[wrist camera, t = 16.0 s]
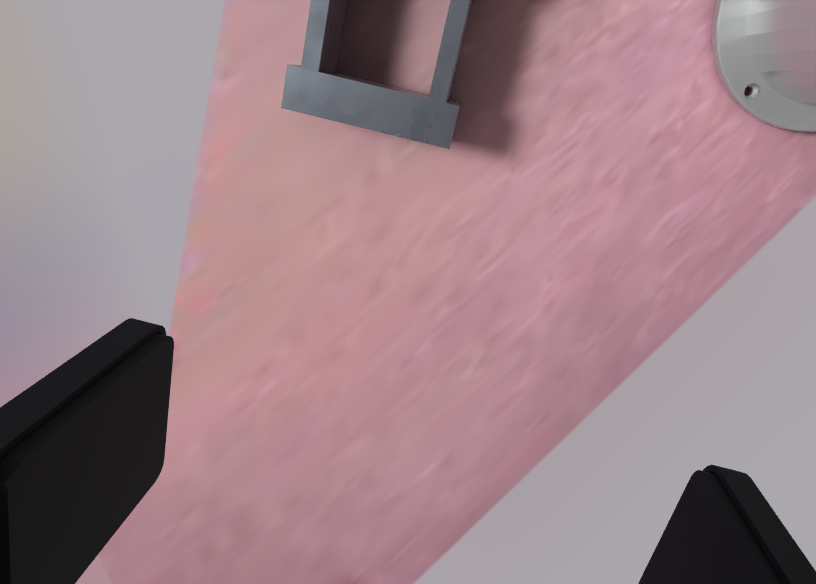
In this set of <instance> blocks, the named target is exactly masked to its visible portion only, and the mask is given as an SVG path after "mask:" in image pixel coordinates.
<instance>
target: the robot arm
mask: <svg viewBox="0 0 816 584" xmlns="http://www.w3.org/2000/svg"><path fill="white" fill-rule="evenodd" d="M711 45H712V53H713V60H714V64H715V67H716V70H717V73H718V75H719V78H720V81H721V83H722V84H723V86H724V88H725V89H726V91H727V92H728V94H729V95H730V97H731V98H732V99H733V100H734V101H735V102H736V103H737V104H738V105H739V106H740V107H741V108H742V109H743V110H744V111H745V112H746V113H748V114H750V115H751V116H753V117H754V118H756V119H758V120H759V121H761V122H764V123H767V124H769V125H772V126H775V127H778V128H783V129H789V130H794V131H809V132H816V0H717V1H716V5H715V9H714V13H713V17H712V31H711ZM746 87H749V89H750V91H749V93H748V94H747V95H746V96H745V95H744V90H745V88H746ZM173 350H174V341H173V338H172V337H170V336H166V331H165V328H164V327H163V326H160V325H156V324H152V323H148V322H144V321H141V320H136V319H131V318H130V319H128V320H125V321H124V322H123V323H121V324H120V325H118V326H117V327H115V328H114V329H113V330H111V331H110V332H108V333H107V334H106V335H104V336H102V337H101V338H100V339H98V340H97V341H95V342H94V343H92V344H91V345H90V346H88V347H87V348H85V349H84V350H82V351H81V352H80V353H78V354H77V355H75V356H74V357H72V358H71V359H70V360H68V361H67V362H65V363H64V364H62V365H61V366H60V367H58V368H57V369H55V370H54V371H52V372H51V373H49V374H48V375H46V376H45V377H44V378H42V379H41V380H39V381H38V382H37V383H35V384H34V385H32V386H31V387H30V388H28V389H26V390H25V391H23V392H22V393H21V394H19V395H18V396H16V397H15V398H14V399H12V400H11V401H9V402H8V403H6V404H5V405H3V406H2V407H1V408H0V584H75V583H76V582H77V580H78V579H79V578H80V576H81V575H82V574H83V573H84V571H85V570H86V569H87V568H88V566H89V565H90V564H91V562H92V561H93V560H94V559H95V557H96V556H97V555H98V554H99V552H100V551H101V550H102V549H103V547H104V546H105V545H106V543H107V542H108V541H109V540H110V538H111V537H112V536H113V535H114V533H115V532H116V531H117V530H118V528H119V527H120V526H121V524H122V523H123V522H124V521H125V519H126V518H127V517H128V516H129V514H130V513H131V512H132V511H133V509H134V508H135V507H136V505H137V504H138V503H139V502H140V500H141V499H142V498H143V497H144V495H145V494H146V493H147V492H148V490H149V489H150V488H151V486H152V485H153V484H154V483H155V481H156V480H157V478H158V476H159V474H160V472H161V470H162V467H163V463H164V455H165V443H166V432H167V420H168V408H169V397H170V385H171V373H172V362H173ZM639 584H816V571H815V570H814V568H813V567H812V566H811V564H810V562H809V561H808V560H807V558H806V557H805V555H804V554H803V552H802V551H801V550H800V548H799V547H798V545H797V544H796V542H795V541H794V539H793V538H792V537H791V535H790V534H789V532H788V531H787V529H786V528H785V527H784V525H783V524H782V522H781V521H780V519H779V518H778V516H777V515H776V514H775V512H774V511H773V509H772V508H771V507H770V505H769V503H768V502H767V501H766V499H765V498H764V496H763V495H762V494H761V492H760V491H759V489H758V488H757V486H756V485H755V483H754V482H753V480H752V479H751V478H750V477H749V476H748V475H747V474H745V473H742V472H739V471H735V470H731V469H727V468H723V467H719V466H715V465H710V466H707V467H706V468H705V469H704V470H703V471H701V470H698V471H696V472H694V473H693V475H692V476H691V478H690V480H689V482H688V484H687V486H686V488H685V490H684V492H683V494H682V496H681V498H680V500H679V502H678V504H677V506H676V508H675V510H674V512H673V514H672V517H671V519H670V520H669V522H668V524H667V527H666V529H665V531H664V533H663V535H662V537H661V539H660V541H659V543H658V545H657V547H656V549H655V551H654V553H653V555H652V557H651V559H650V561H649V563H648V565H647V567H646V569H645V571H644V573H643V576H642V577H641V579H640V581H639Z"/></svg>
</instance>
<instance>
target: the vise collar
mask: <svg viewBox="0 0 816 584" xmlns="http://www.w3.org/2000/svg"><path fill="white" fill-rule="evenodd" d="M472 1H473V0H451V1H450V6H449V10H448V15H447V19H446V24H445V28H444V33H443V37H442V41H441V46H440V50H439V55H438V59H437V64H436V68H435V72H434V77H433V81H432V86H431V90H430V95H426V94H422V93H418V92H414V91H410V90H405V89H401V88H397V87H393V86H389V85H385V84H381V83H376V82H372V81H368V80H364V79H360V78H356V77H352V76H348V75H343V74H339V73H336V69H337V63H338V57H339V51H340V45H341V39H342V33H343V27H344V21H345V15H346V9H347V3H348V0H311V4H310V11H309V17H308V24H307V31H306V38H305V45H304V52H303V58H302V65H288V64H287V71H286V78H285V86H284V93H283V100H282V107H281V108H284V109H288V110H292V111H296V112H300V113H304V114H308V115H312V116H317V117H321V118H325V119H329V120H333V121H337V122H341V123H345V124H349V125H354V126H358V127H362V128H366V129H370V130H374V131H378V132H382V133H386V134H390V135H395V136H399V137H403V138H407V139H411V140H415V141H419V142H423V143H427V144H432V145H436V146H440V147H444V148H448V149H449V148H450V145H451V142H452V139H453V135H454V131H455V127H456V123H457V119H458V115H459V110H460V106H461V103H459V102H455V101H451V100H449V98H450V94H451V90H452V85H453V81H454V77H455V73H456V69H457V64H458V60H459V56H460V52H461V48H462V43H463V39H464V35H465V31H466V27H467V22H468V18H469V14H470V10H471V6H472Z"/></svg>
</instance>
